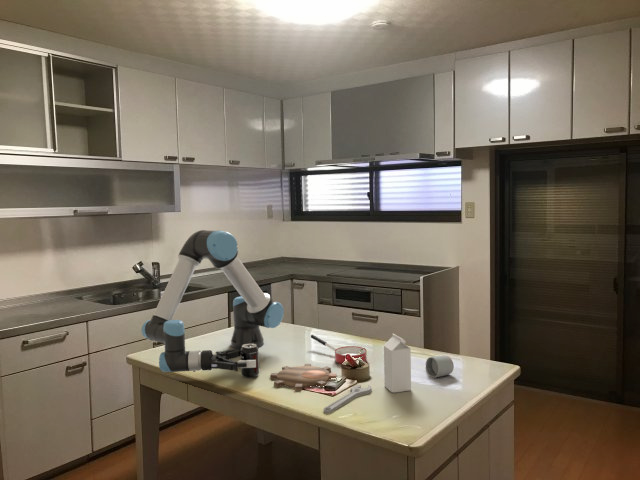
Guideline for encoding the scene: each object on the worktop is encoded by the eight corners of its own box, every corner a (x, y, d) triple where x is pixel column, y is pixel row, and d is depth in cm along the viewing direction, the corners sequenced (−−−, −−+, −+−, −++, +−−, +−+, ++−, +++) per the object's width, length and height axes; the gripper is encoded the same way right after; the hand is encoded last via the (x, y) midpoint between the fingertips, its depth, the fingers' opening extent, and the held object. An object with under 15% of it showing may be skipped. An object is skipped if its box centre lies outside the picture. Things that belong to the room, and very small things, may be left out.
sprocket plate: (277, 367, 213) (277, 363, 212) (339, 367, 210) (338, 363, 209) (263, 390, 188) (263, 385, 188) (333, 391, 185) (333, 386, 185)
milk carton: (392, 393, 181) (391, 339, 180) (384, 386, 188) (383, 334, 186) (411, 390, 183) (410, 337, 182) (402, 383, 190) (401, 332, 188)
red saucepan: (297, 352, 232) (297, 338, 231) (318, 346, 241) (318, 332, 240) (352, 368, 209) (351, 352, 209) (373, 360, 218) (372, 345, 218)
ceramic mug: (455, 376, 196) (455, 356, 196) (438, 380, 193) (438, 359, 192) (436, 368, 206) (436, 349, 205) (419, 372, 202) (419, 353, 201)
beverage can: (261, 373, 206) (260, 343, 205) (255, 379, 199) (254, 348, 198) (245, 372, 207) (244, 342, 206) (238, 378, 201) (237, 347, 200)
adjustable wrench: (328, 415, 166) (328, 410, 166) (313, 411, 170) (313, 405, 170) (374, 391, 185) (374, 386, 184) (359, 387, 189) (359, 382, 189)
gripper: (207, 359, 214) (259, 357, 215) (196, 381, 189) (255, 378, 191) (206, 341, 214) (258, 339, 215) (195, 361, 189) (254, 358, 190)
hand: (257, 358), depth 203 cm, fingers open, 13 cm apart
